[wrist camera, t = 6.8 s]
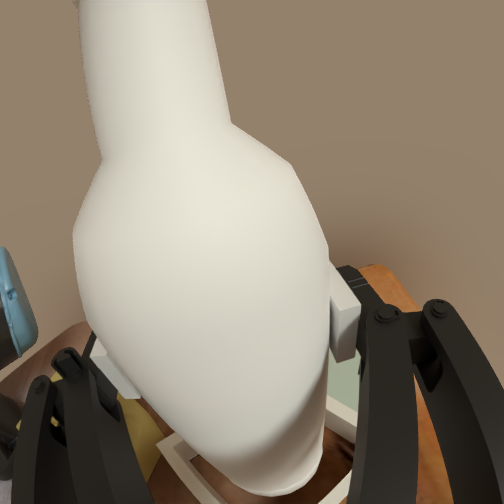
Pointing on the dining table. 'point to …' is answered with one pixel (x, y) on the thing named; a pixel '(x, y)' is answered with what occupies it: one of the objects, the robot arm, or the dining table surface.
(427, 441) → the dining table surface
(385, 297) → the dining table surface
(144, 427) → the cheese
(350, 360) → the mat
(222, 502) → the bottle holder
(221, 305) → the bottle
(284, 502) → the dining table surface
